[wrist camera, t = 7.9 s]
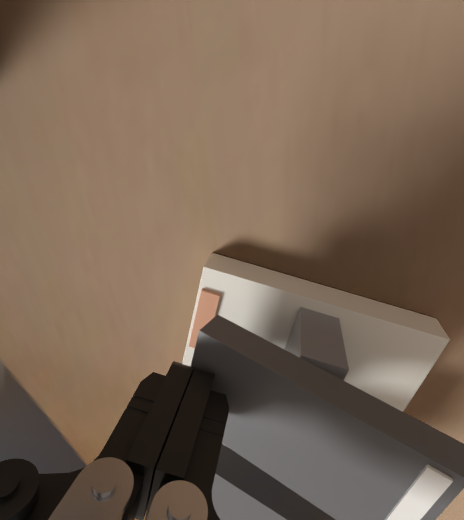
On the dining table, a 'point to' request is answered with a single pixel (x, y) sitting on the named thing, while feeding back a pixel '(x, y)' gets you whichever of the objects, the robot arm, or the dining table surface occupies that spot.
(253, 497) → the middle rocker
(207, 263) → the switch panel
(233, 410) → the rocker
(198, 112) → the dining table surface
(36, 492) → the robot arm
